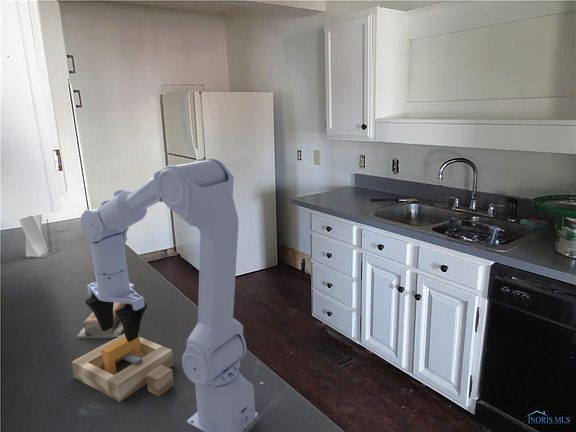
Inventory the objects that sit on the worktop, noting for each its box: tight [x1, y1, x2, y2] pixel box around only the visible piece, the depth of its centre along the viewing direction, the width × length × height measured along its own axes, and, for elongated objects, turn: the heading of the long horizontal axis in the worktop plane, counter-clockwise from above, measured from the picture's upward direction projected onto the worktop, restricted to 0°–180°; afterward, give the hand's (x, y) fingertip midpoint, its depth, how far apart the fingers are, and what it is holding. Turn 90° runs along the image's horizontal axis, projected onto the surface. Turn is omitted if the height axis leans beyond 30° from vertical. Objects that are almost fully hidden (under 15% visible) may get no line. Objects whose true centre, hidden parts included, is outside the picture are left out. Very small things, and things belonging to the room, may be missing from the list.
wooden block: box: [101, 334, 142, 375], centre depth 86 cm, size 2×7×6 cm, turn 148°
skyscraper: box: [18, 213, 57, 259], centre depth 153 cm, size 8×8×28 cm
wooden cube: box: [146, 365, 174, 397], centre depth 81 cm, size 3×4×4 cm
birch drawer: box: [71, 333, 175, 403], centre depth 86 cm, size 14×13×5 cm
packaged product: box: [76, 302, 125, 340], centre depth 108 cm, size 18×5×10 cm
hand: (120, 333), depth 85 cm, fingers open, 7 cm apart
